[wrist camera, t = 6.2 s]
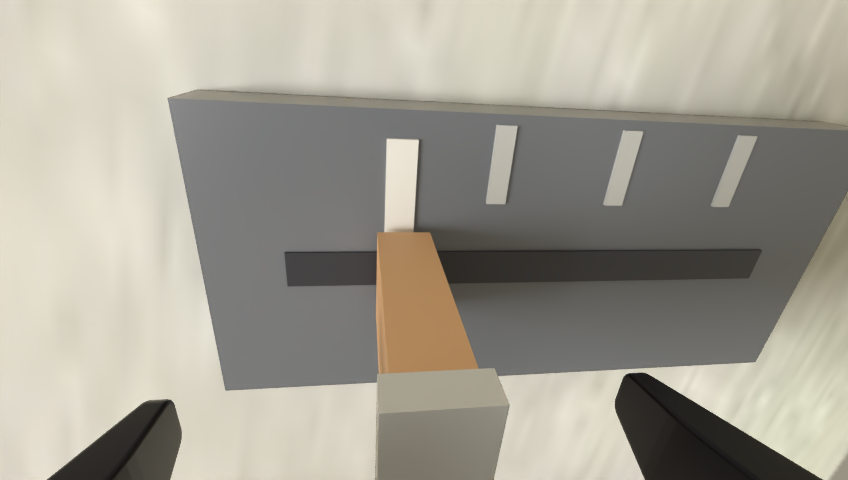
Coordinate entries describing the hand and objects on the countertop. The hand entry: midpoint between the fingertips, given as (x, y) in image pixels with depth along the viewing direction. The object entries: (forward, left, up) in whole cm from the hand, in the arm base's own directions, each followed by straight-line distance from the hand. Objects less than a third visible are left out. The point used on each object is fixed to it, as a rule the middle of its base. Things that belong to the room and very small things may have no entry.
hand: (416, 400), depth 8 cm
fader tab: (0, 0, -5) cm, 5 cm away
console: (0, -5, -8) cm, 9 cm away
